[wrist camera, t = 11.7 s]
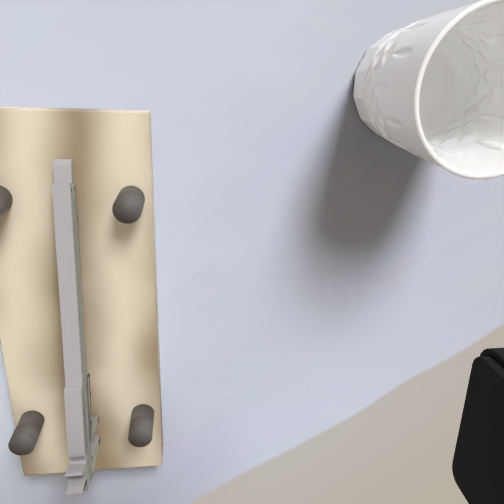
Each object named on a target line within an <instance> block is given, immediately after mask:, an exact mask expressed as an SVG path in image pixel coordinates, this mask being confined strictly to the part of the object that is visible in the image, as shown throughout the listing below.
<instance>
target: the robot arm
mask: <svg viewBox="0 0 504 504" xmlns="http://www.w3.org/2000/svg"><path fill="white" fill-rule="evenodd" d="M452 468H453V469H452V470H453V475H454V478H455V481H456V483H457V485H458V487H459V489H460V490H461V492H462V493H463V495H464V496H465V498H466V500H467V501H468V503H469V504H504V348H491V349H485V350H483V352H482V353H481V355H480V357H477V358H475V360H474V361H473V364H472V369H471V374H470V379H469V384H468V389H467V394H466V399H465V404H464V409H463V414H462V419H461V424H460V429H459V434H458V438H457V443H456V448H455V453H454V459H453V465H452Z"/></svg>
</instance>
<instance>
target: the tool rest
mask: <svg viewBox="0 0 504 504" xmlns="http://www.w3.org/2000/svg"><path fill="white" fill-rule="evenodd" d="M54 159H72V165H73V182H74V183H75V184H76V198H77V215H78V233H79V250H80V267H81V284H82V301H83V318H84V334H85V351H86V368H87V373H90V392H91V411H90V415H99V421H98V424H97V428H96V430H95V433H94V435H100V446H99V451H98V455H97V460H96V464H95V469H94V470H104V469H118V468H131V467H144V466H157V465H162V452H163V438H162V410H161V383H160V356H159V328H158V301H157V274H156V246H155V219H154V191H153V164H152V137H151V111H138V110H103V109H67V108H32V107H0V340H1V345H2V351H3V357H4V363H5V369H6V374H7V380H8V386H9V392H10V397H11V403H12V409H13V415H14V421H15V426H16V429H15V431H14V433H13V435H12V437H11V439H10V442H9V444H8V446H9V449H10V451H11V452H12V453H14V454H16V455H21V461H22V467H23V472H24V476H25V475H38V474H51V473H65V472H66V471H67V469H68V467H69V465H70V460H71V458H68V446H67V431H66V415H65V400H64V389H65V387H66V386H65V371H64V357H63V342H62V327H61V313H60V298H59V284H58V269H57V255H56V240H55V225H54V210H53V195H52V183H54V175H53V160H54Z"/></svg>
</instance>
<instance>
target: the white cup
mask: <svg viewBox="0 0 504 504" xmlns="http://www.w3.org/2000/svg"><path fill="white" fill-rule="evenodd" d="M353 98H354V101H355V104H356V107H357V110H358V113H359V116H360V119H361V120H362V121H363V122H364V123H365V124H366V125H367V126H368V127H369V128H370V129H371V130H372V131H373V132H374V133H375V134H377V135H379V136H381V137H383V138H385V139H387V140H388V141H390V142H391V143H393V144H394V145H396V146H398V147H400V148H402V149H404V150H406V151H407V152H409V153H411V154H413V155H415V156H417V157H420V158H422V159H424V160H426V161H428V162H430V163H432V164H434V165H437V166H439V167H441V168H443V169H445V170H447V171H449V172H451V173H453V174H455V175H458V176H461V177H465V178H471V179H488V178H494V177H499V176H502V175H504V0H481V1H478V2H475V3H472V4H469V5H465V6H462V7H459V8H455V9H452V10H449V11H446V12H442V13H439V14H436V15H433V16H431V17H428V18H425V19H422V20H419V21H417V22H414V23H412V24H410V25H408V26H406V27H404V28H402V29H398V30H395V31H391V32H388V33H387V34H386V35H384V36H383V37H382V38H381V39H379V40H378V41H377V42H376V43H374V44H373V45H372V46H370V47H369V48H368V49H367V51H366V53H365V55H364V57H363V59H362V61H361V62H360V64H359V66H358V68H357V70H356V72H355V82H354V92H353Z"/></svg>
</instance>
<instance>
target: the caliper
mask: <svg viewBox="0 0 504 504" xmlns="http://www.w3.org/2000/svg"><path fill="white" fill-rule="evenodd" d="M53 175H54V183H52V195H53V210H54V225H55V240H56V255H57V269H58V284H59V298H60V313H61V327H62V342H63V357H64V371H65V386H66V387H65V389H64V400H65V415H66V431H67V446H68V458H71V460H70V465H69V467H68V469H67V471H66V473H65V477H69V480H68V485H67V490H66V495H76V494H83V492H84V491H87V490H88V487H89V485H90V482H91V479H92V476H93V473H94V469H95V464H96V460H97V455H98V451H99V446H100V435H94V433H95V430H96V428H97V424H98V421H99V415H90V411H91V392H90V373H87V368H86V351H85V334H84V318H83V301H82V284H81V267H80V250H79V233H78V215H77V198H76V184H75V183H74V182H73V165H72V159H54V160H53Z"/></svg>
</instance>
